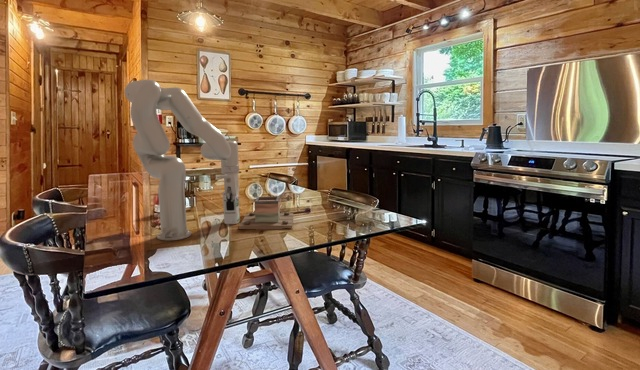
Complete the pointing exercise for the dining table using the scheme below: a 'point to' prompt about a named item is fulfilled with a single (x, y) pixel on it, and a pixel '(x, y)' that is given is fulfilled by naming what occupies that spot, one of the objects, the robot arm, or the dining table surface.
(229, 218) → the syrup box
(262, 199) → the metal block on plate
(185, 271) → the dining table surface
